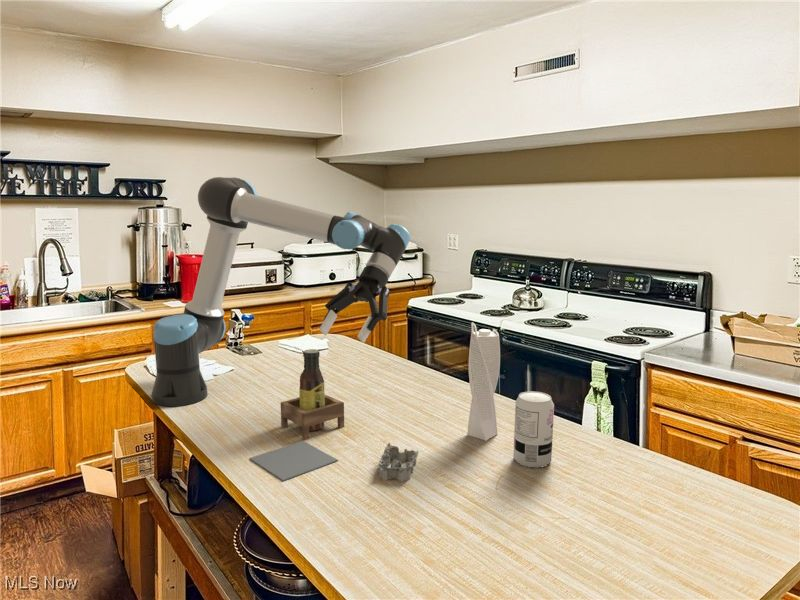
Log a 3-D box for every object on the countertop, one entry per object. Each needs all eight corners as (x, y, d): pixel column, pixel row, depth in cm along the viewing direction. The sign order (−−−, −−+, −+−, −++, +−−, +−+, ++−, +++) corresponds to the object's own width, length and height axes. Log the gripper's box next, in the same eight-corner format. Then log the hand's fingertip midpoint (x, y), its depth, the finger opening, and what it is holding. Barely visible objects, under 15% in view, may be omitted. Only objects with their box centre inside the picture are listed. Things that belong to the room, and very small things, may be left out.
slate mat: (249, 459, 133) (249, 457, 132) (302, 441, 142) (302, 440, 142) (283, 481, 122) (283, 480, 122) (337, 461, 132) (337, 459, 132)
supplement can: (509, 453, 136) (511, 390, 133) (544, 452, 136) (547, 390, 134) (519, 470, 128) (521, 403, 125) (556, 468, 128) (559, 402, 126)
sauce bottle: (320, 432, 147) (318, 355, 144) (296, 430, 148) (294, 354, 145) (328, 423, 153) (327, 348, 150) (305, 421, 155) (303, 347, 151)
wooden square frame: (281, 426, 151) (280, 402, 150) (319, 415, 159) (319, 392, 158) (305, 439, 143) (304, 414, 142) (344, 426, 151) (343, 402, 150)
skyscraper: (459, 434, 146) (461, 323, 141) (476, 425, 152) (479, 318, 147) (486, 443, 141) (490, 328, 136) (503, 434, 147) (507, 323, 142)
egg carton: (388, 458, 134) (388, 441, 133) (420, 462, 132) (420, 445, 131) (373, 480, 124) (373, 461, 123) (408, 484, 122) (409, 465, 121)
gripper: (419, 285, 159) (384, 351, 150) (350, 277, 174) (315, 337, 165) (407, 267, 154) (370, 334, 145) (337, 261, 169) (300, 321, 160)
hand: (341, 336), depth 155 cm, fingers open, 13 cm apart
